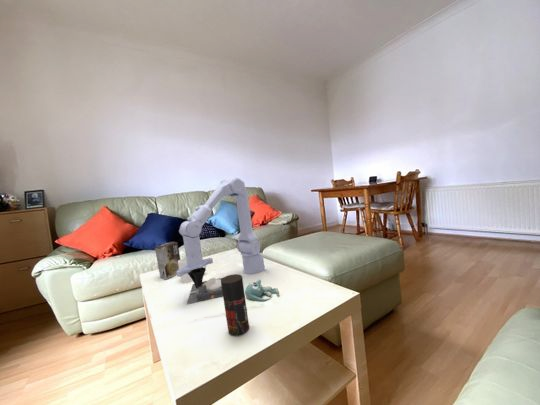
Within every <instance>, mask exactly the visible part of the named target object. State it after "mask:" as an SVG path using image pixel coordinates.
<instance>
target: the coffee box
mask: <svg viewBox="0 0 540 405" xmlns="http://www.w3.org/2000/svg"><path fill="white" fill-rule="evenodd" d="M178 244H179V243H178V242H177V241H169V242H165V243H162V244H159V245H157V246H154V250H155V256H156V261H157V262H156V263H157V268H158V273H159V278H160V279H162V280H163V279H164V280H166V281H167V280H169V279H171V278H174V277H176V276H177V272H176V271H178V270H179V265H178V261H179V260H181V259H182V258H181V255H180V254H181V253H180V250H179V245H178Z"/></svg>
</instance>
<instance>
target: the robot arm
mask: <svg viewBox="0 0 540 405" xmlns="http://www.w3.org/2000/svg"><path fill="white" fill-rule="evenodd" d="M226 196H230V197H231V198H233V199H234V200H235V201H236V208H237V216H238V217H237V218H238V223H239V225H238V226H239V233H240V235H239V236H238V237H237V240H238V241H237V251H238V252H239V253H240V255H241V259H242V265H243V272H244V274H246V275H254V274H257V273H260V272H266V269H265V261H264V255H263V253H262V252H260V251H261V244H260V241H259V238H258V236H257V235H256V234H255V233H254V230H253V222H252V216H251V208H250V201H249V193H248V191H247V189H246V185H245V182H244V180H242V179H241V178H238V177H234V178H229V179H222V180H221V181H220V182H219V183H218V184H217V186H216V188H215V189H214V191H213V192H212V193H211V195H210V196H209V198H208V199H207V200H206V201H205V203H204V204H200V205H199V206H196V207H195V208H194V209H195V210H194V211H193V213H192V214H191V215H190V216H188V217H187V218H186V219H187V220H185V221H183V222H181V224H180V226H179V230H178V233H179V234H180V235H181V236H182V239H183V247H184V251H185V252H184V253H185V258H186V260H187V266H185V267H183V268H182V269H180V270H178V271H176V272H177V275H176V276H177V277H179V278H181V276H183V275H184V274H188V275H189V276H190V277H191V279H192V280H193V284H195V287H196V288H197V289H199V288H198V287H199V286H201V285H202V282H203V279H204V276H205V273H206V271H207V269H206V270H205V268H204V266H205V265H206V266H208V265H210V264H211V265H212V264H213V263H214V261H213V258H212V257H208V258H203V251H202V245H201V239H200V234H201V233H202V228H203V226H204V225H205V223H206V222H207V221H208V219H210V217H211V216H212V210H213V209H214V208H215V207H216V206H217V205H218V203H219V202H220V201H221V200H222V198H224V197H226Z"/></svg>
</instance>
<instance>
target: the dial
mask: <svg viewBox="0 0 540 405" xmlns="http://www.w3.org/2000/svg"><path fill="white" fill-rule="evenodd" d="M205 281H206V282H205V283H204V284H202V285H201V286H199V287H198V288H199V293H204V292H207V291H212V290H216V289H221V288H222V286H221V280H220V279H218V278H216V277H210V278H209V279H207V280H205Z"/></svg>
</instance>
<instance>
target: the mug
mask: <svg viewBox="0 0 540 405" xmlns="http://www.w3.org/2000/svg"><path fill="white" fill-rule="evenodd" d="M180 259H181V260H179V261H178V265H179V270H180V269H182V268H183V267H185V266H187V260H186V257H183V258H180ZM203 268H205V270H206V271H207V265H205V266H204V267H203ZM180 281H181V283H186V284H187V283H192V282H193V280H192V279H191V277H190V276H189V275H188V274H184V275H183V276H181V277H180ZM193 283H194V282H193Z"/></svg>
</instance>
